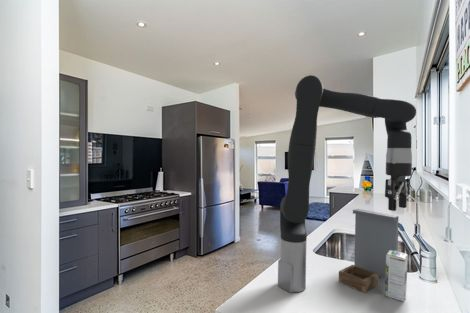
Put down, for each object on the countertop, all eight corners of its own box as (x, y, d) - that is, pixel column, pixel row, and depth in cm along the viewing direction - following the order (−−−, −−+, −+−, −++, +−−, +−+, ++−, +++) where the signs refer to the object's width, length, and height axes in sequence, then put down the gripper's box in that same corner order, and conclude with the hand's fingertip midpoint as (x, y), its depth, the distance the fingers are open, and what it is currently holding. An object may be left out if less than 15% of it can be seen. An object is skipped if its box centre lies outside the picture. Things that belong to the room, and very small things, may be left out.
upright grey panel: (392, 284, 97) (394, 217, 97) (351, 268, 110) (352, 209, 109) (397, 281, 99) (398, 216, 99) (356, 266, 112) (357, 208, 112)
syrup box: (387, 289, 93) (388, 249, 93) (406, 295, 89) (407, 253, 89) (384, 296, 89) (385, 253, 88) (404, 302, 85) (405, 258, 85)
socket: (365, 293, 90) (365, 281, 90) (338, 281, 98) (338, 271, 98) (378, 284, 96) (378, 274, 96) (352, 274, 104) (352, 264, 104)
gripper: (395, 161, 96) (394, 205, 96) (377, 161, 87) (376, 209, 87) (419, 162, 90) (417, 208, 90) (402, 162, 81) (401, 213, 81)
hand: (397, 209), depth 89 cm, fingers open, 8 cm apart
